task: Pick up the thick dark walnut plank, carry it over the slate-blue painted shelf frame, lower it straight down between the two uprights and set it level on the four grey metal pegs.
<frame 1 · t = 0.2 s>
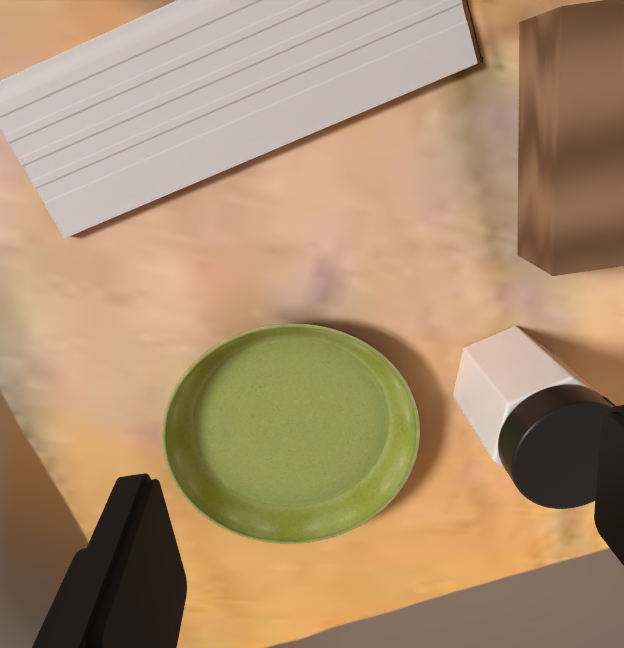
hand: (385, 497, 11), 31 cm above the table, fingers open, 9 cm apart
shelf board: (551, 142, 39), on the table
jar: (501, 373, 46), on the table
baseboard: (229, 65, 37), on the table
saucer: (291, 421, 47), on the table
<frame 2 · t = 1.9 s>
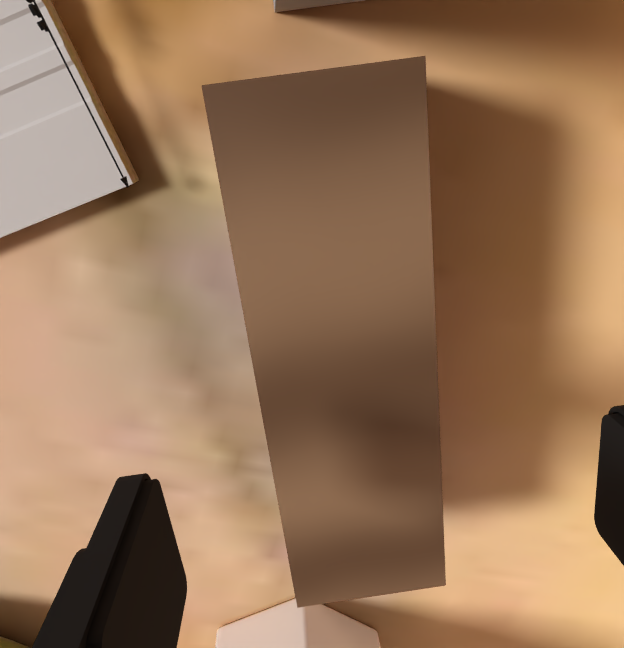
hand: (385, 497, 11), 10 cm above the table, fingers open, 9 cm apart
shelf board: (327, 310, 21), on the table
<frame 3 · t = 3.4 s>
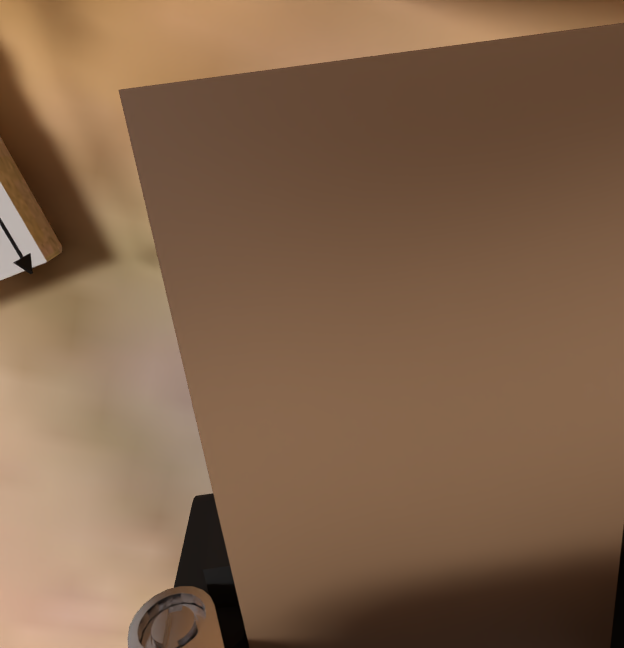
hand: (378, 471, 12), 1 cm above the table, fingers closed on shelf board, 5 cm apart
shelf board: (369, 439, 13), on the table, touching gripper
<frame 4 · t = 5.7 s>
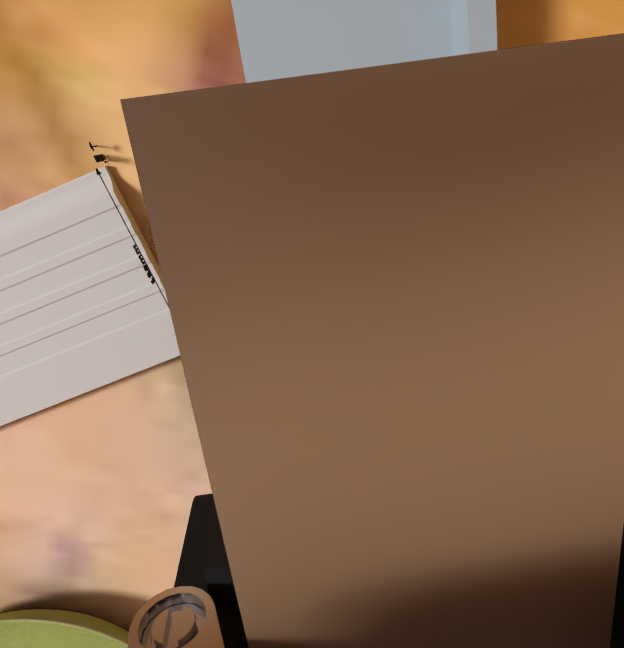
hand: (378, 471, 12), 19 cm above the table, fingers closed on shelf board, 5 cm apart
shelf board: (369, 442, 13), point 17 cm above the table, touching gripper
peg frame: (354, 24, 26), on the table
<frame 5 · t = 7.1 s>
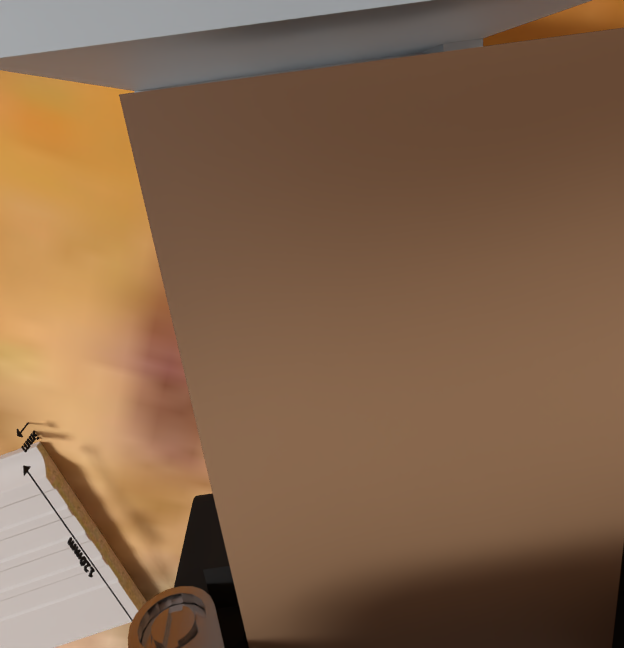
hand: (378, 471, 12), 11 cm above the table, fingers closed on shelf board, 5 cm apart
shelf board: (369, 441, 13), point 10 cm above the table, touching gripper
peg frame: (324, 303, 22), on the table
when the fingers open (7 cm above the table, at t = 8.2 s): shelf board stays where it is, resting on peg frame.
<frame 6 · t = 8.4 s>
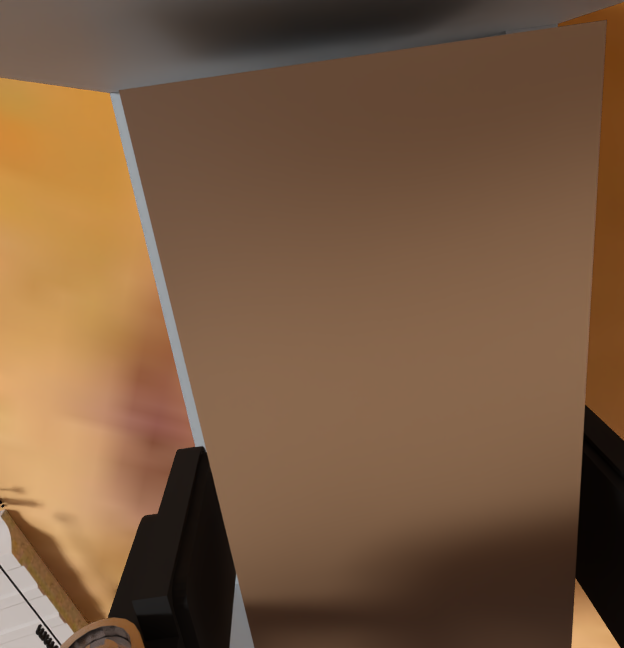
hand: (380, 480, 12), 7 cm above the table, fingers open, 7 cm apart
shelf board: (359, 421, 14), point 5 cm above the table, touching peg frame
peg frame: (343, 347, 19), on the table
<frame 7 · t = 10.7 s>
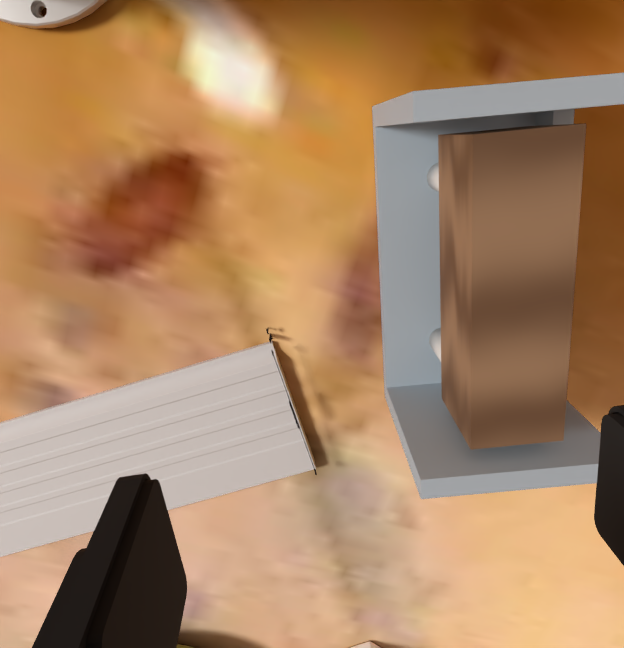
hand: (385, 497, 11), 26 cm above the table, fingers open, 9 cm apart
shelf board: (482, 273, 32), point 5 cm above the table, touching peg frame
peg frame: (459, 257, 37), on the table
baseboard: (100, 446, 42), on the table
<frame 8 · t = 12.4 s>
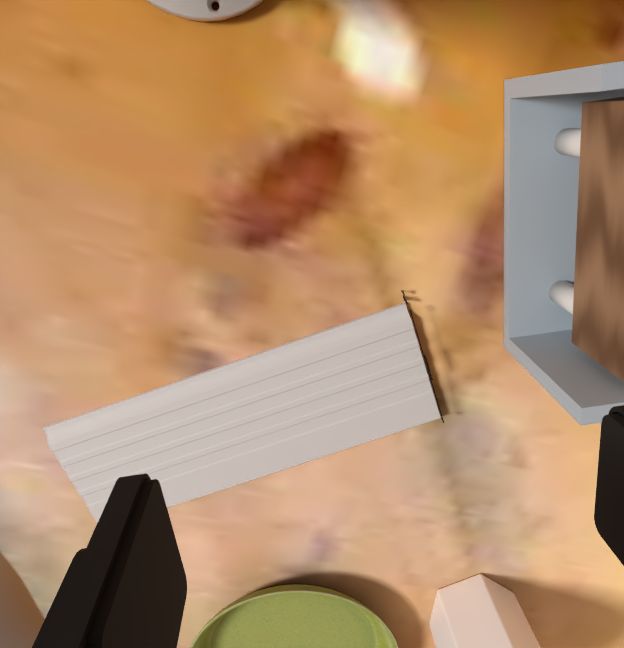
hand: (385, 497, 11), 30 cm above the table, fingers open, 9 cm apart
shelf board: (613, 226, 36), point 5 cm above the table, touching peg frame
peg frame: (576, 215, 40), on the table
jar: (469, 605, 54), on the table
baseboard: (242, 407, 45), on the table
saucer: (293, 641, 55), on the table
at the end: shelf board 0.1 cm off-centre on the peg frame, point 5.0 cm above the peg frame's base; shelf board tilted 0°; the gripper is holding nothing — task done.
